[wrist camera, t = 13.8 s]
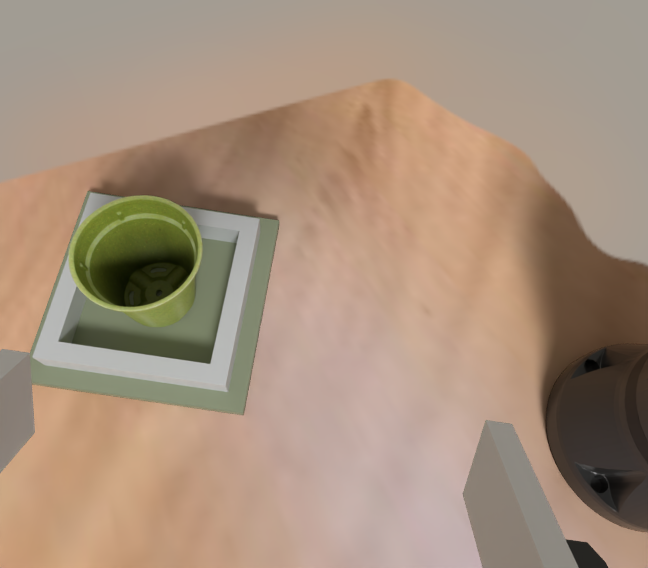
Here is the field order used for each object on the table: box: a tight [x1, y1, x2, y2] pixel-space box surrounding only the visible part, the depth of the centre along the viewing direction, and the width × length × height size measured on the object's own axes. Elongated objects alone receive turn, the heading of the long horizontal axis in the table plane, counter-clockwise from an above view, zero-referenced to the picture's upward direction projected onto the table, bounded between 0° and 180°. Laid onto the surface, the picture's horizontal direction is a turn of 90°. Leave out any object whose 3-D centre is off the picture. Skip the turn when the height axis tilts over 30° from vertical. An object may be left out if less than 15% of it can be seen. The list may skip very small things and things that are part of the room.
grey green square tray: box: [30, 191, 279, 415], centre depth 47 cm, size 18×18×4 cm
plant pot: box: [68, 195, 203, 327], centre depth 43 cm, size 9×9×9 cm
